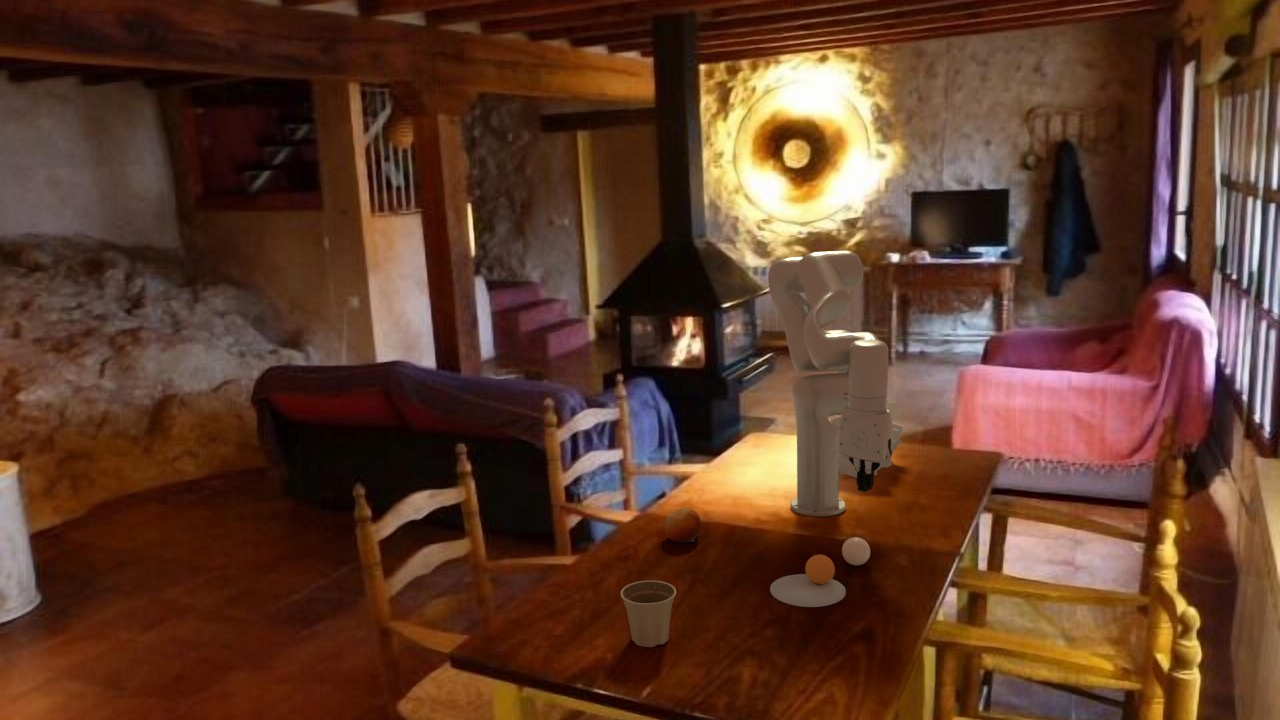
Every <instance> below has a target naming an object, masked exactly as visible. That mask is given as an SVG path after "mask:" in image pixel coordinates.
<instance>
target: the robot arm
mask: <svg viewBox="0 0 1280 720" xmlns="http://www.w3.org/2000/svg"><path fill="white" fill-rule="evenodd" d="M767 277H768V278H767V280H768V282H767V283H768V289H769V293H770V297H771V300H772V303H773V304H774V307H775V309H776V310H777V312H778V314H779V315H780V318H781V320H782V323H783V327H784V328H783V329H784V334H785V338H786V341H787V342H786V343H787V348H788V350H789V357H790V359H791V360H790V361H791V363H792V365H793V368H794V369H795V370H796V371H798V372H800V373H817V374H809V375H805V376H802V377H800V378H798V379H797V380H795V382H794V384H793V386H792V390H791V391H792V392H791V393H792V401H793V403H792V404H793V406H794V407H793V408H794V413H795V425H796V479H797V481H796V488H797V490H796V491H797V492H796V497H794V498H792V500H791V501H790V508H791V510H792V511H793V512H795V513H797V514H800V515H804V516H808V517H830V516H836V515H840V514H841V513H843V512H844V511H845V510H846V505H847V504H846V502H845V501H844V500H843V499H841V498H840V496H839V493H840V492H839V490H840V489H839V488H840V487H839V486H840V480H839V479H840V478H839V477H840V476H839V475H840V472H839V452H840V453H841V456H842V457H843V458H845V459H847V460H850V462H851V463H852V464H853V466H854V469H855V471H857V478H856V485H857V491H858V492H863V493H867V492H869V491H870V490H872V489H873V487H874V484H875V475H874V471H875V470H877V469H878V468H879V467H881V468H889V467H890V466H892V464H893V463H892V458H891V456H892V457H893V454H894V451H893V431H892V422H893V420H892V421H891V416H890V411H889V410H887V400H888V382H889V381H888V378H889V376H888V375H889V346H888V345H887V343H886V342H885V341H882V340H880V339H879V338H878V336H877V335H876V334H874V333H873V332H869V331H856V332H852V331H849V330H845V329H832V330H831V329H830V330H826V329H824V327H825V326H826V327H827V326H828V325H830V324H832V323H834V322H836V321H837V320H839V319H841V318H842V317H843V316H845V315H846V314H847V313H848V311H849V310H850V308H851V306H852V297H851V295H850V293H849V291H848V290H850V289H851V290H852V289H855V288H857V287H858V286H860V285H861V283H862V281H863V278H864V265H863V263H862V259H860V257H859V255H858V254H857V253H855V252H854V251H851V250H833V251H831V250H830V251H829V250H828V251H815V252H810V253H807V254H805V255H804V256H793V257H786V258H782V259H779V260H776V261H775V262H773V263H772V264H771V266H770V267H769V269H768V275H767ZM801 294H805V297H806V298H804V297H803V296H802V295H801ZM821 372H822V374H821ZM823 372H825V373H823ZM826 372H834V373H826ZM839 415H842V418H841V424H840V431H839V435H838V432H837V430H836V428H835V427H834V426H833V425H832V423H831V421H830V420H829V417H832V416H839ZM892 453H893V454H892ZM877 471H878V470H877Z"/></svg>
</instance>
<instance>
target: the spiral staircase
mask: <svg viewBox="0 0 1280 720" xmlns="http://www.w3.org/2000/svg"><path fill="white" fill-rule="evenodd" d="M887 410H889V411H890V416H891V421H892V431H893V453H892V456H891V459H892V457H893V454H894V452H895V451H896V450H897V449H898V447H899V446H900V445H901V444H902V443H903V441H902V440H901V439H900V438H901V435H902V432H903V428H904V425H901V424H898V423H896V422H893V421H894V420H896V419H897V418H898V417H900V416H902V415H903V412H902V411H901V408H900V406H899V403H898V402H897V400H894V401H890V400H889V399H887ZM841 418H842V415H838V416H837V417H834V418H832V419H830V420H829V421H830V422H831V424H832V425H833V426H834V427H835V428H836V430H837V432H838V435H839V431H840V424H841ZM881 468H882V467H879V468H878V469H877V470H875V471H874V476H878V471H879V470H880V469H881ZM839 474H840V475H841V476H844V475H845V474H846V475H848V476H850V477H852V478H856V479H857V471H855V469H854V466H853V464H852V463H851V462H850V460H847V459H845V458H843V457H842V456H841V453H840V452H839Z"/></svg>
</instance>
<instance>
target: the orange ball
mask: <svg viewBox="0 0 1280 720" xmlns="http://www.w3.org/2000/svg"><path fill="white" fill-rule="evenodd" d="M804 569H805V574H807V576H808V578H809V579H810V580H811V581H812V582H814V583H816V584H825V583H827V582H829V581H830V580H831V579H833V578H834V576H835V573H836V572H835V571H836V569H835V564H834V562H833V561H832V559H831V558H830V557H828V556H826V555H824V554H815V555H812V556H811V557H810V558H809V559H808V560H807V561H806V564H805V568H804Z"/></svg>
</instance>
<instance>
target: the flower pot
mask: <svg viewBox="0 0 1280 720" xmlns="http://www.w3.org/2000/svg"><path fill="white" fill-rule="evenodd" d="M676 595H677V589H676V587H675V586H673V585H672V584H670V583H668V582H665V581H660V580H641V581H635V582H633V583H629V584H627V585H625V586H624V587H622V589H621V590H620V598H621V599H622V601H623V604H624V606H625V607H626V608H625V609H626V614H627V618H628V623H629V629H630V635H631V640H632V642H634V644H635V645H637V646H639V647H643V648H655V647H656V646H658V645H660V646H661V645H664V644H666V642H667V641H668V640H669V634H670V624H671V616H672V605H673V604H674V599H675V597H676Z"/></svg>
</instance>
